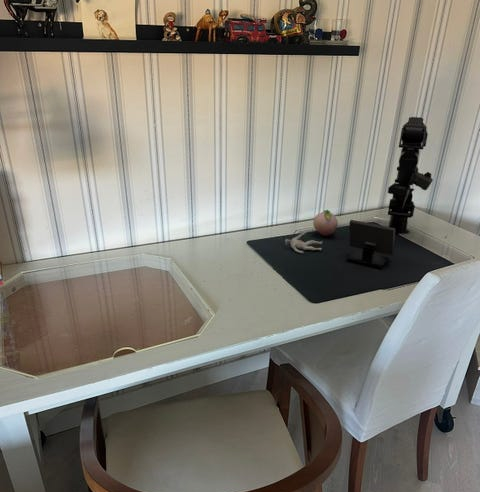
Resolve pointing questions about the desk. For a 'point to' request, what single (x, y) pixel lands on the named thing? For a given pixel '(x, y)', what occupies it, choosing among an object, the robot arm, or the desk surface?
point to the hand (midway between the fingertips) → (400, 209)
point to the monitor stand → (368, 258)
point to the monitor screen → (372, 236)
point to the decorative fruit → (325, 223)
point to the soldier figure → (302, 244)
